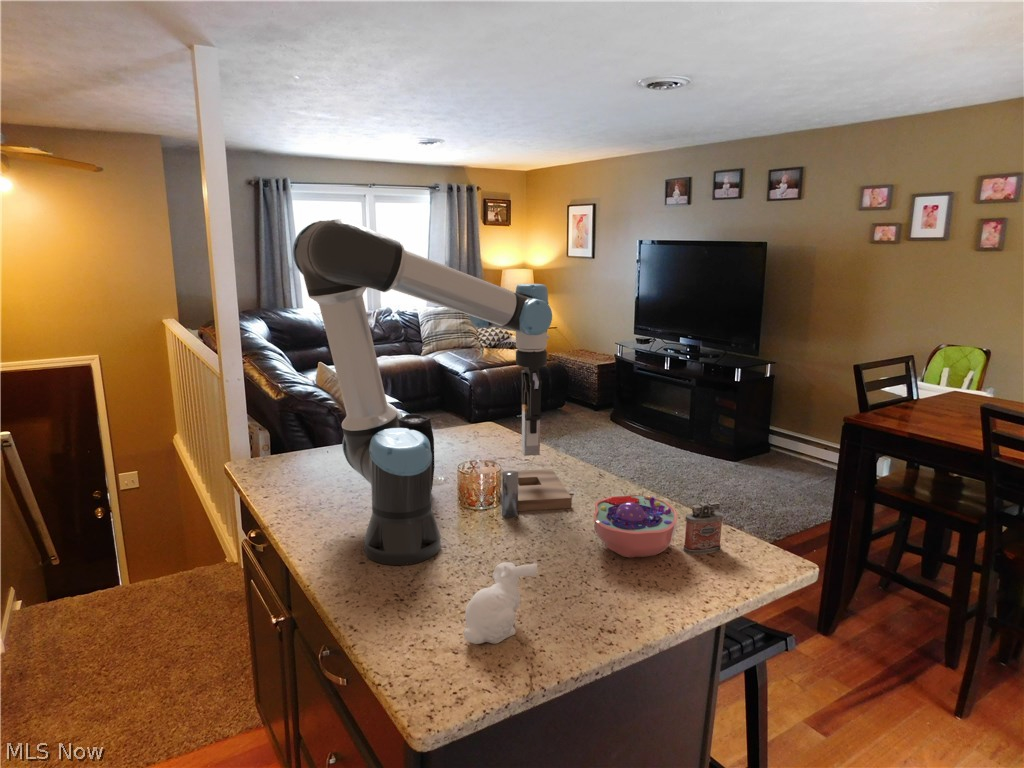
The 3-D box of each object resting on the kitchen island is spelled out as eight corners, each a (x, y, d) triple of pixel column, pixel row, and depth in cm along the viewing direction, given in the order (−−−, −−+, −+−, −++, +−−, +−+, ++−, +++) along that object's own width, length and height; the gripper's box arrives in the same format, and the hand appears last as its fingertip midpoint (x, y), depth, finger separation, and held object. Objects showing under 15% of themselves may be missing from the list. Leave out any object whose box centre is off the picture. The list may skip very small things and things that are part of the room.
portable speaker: (441, 495, 153) (440, 418, 149) (408, 504, 147) (407, 424, 143) (421, 485, 159) (420, 410, 155) (389, 493, 153) (387, 417, 149)
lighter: (688, 555, 124) (692, 508, 122) (679, 548, 127) (683, 502, 125) (724, 551, 126) (728, 504, 124) (714, 543, 129) (718, 498, 127)
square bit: (539, 454, 153) (540, 407, 151) (524, 455, 153) (524, 408, 150) (536, 450, 157) (537, 403, 154) (521, 450, 156) (522, 404, 154)
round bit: (518, 517, 141) (519, 475, 139) (503, 518, 140) (503, 476, 138) (516, 511, 144) (516, 470, 142) (500, 512, 143) (501, 470, 141)
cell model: (687, 540, 131) (691, 490, 128) (658, 582, 114) (662, 525, 111) (612, 522, 139) (614, 474, 137) (573, 558, 122) (576, 504, 120)
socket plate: (571, 507, 146) (571, 497, 146) (504, 511, 144) (504, 501, 143) (551, 478, 166) (552, 469, 165) (492, 480, 163) (492, 471, 163)
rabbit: (497, 606, 105) (498, 540, 103) (543, 626, 100) (546, 557, 97) (449, 641, 96) (449, 569, 93) (498, 665, 90) (499, 590, 88)
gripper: (554, 354, 142) (553, 452, 147) (539, 343, 158) (538, 432, 163) (522, 355, 141) (521, 454, 146) (510, 344, 157) (509, 433, 162)
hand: (530, 442), depth 154 cm, fingers closed on square bit, 4 cm apart
